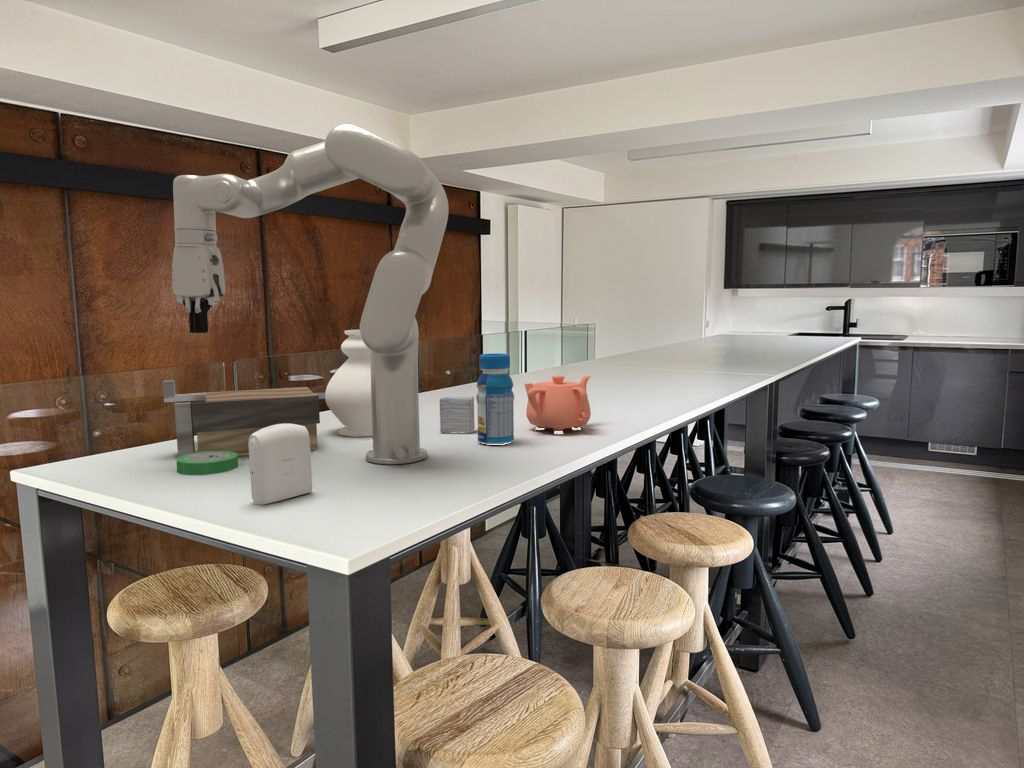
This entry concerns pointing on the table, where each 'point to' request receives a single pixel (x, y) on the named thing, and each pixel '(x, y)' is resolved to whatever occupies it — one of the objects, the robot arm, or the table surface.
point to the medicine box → (457, 414)
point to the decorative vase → (352, 388)
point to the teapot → (558, 403)
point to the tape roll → (207, 462)
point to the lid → (255, 409)
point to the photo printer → (279, 463)
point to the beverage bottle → (495, 400)
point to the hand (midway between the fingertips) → (198, 332)
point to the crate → (217, 435)
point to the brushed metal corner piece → (172, 397)
